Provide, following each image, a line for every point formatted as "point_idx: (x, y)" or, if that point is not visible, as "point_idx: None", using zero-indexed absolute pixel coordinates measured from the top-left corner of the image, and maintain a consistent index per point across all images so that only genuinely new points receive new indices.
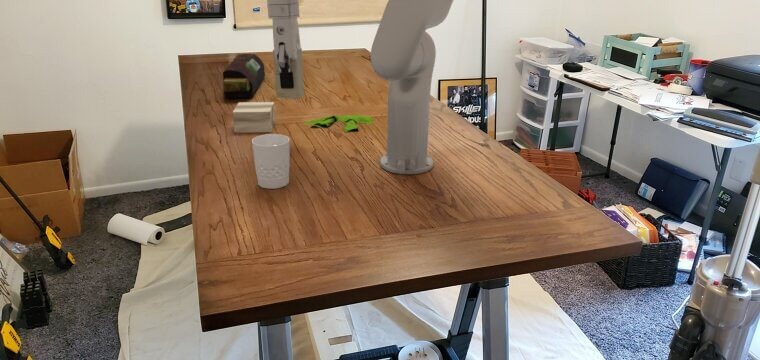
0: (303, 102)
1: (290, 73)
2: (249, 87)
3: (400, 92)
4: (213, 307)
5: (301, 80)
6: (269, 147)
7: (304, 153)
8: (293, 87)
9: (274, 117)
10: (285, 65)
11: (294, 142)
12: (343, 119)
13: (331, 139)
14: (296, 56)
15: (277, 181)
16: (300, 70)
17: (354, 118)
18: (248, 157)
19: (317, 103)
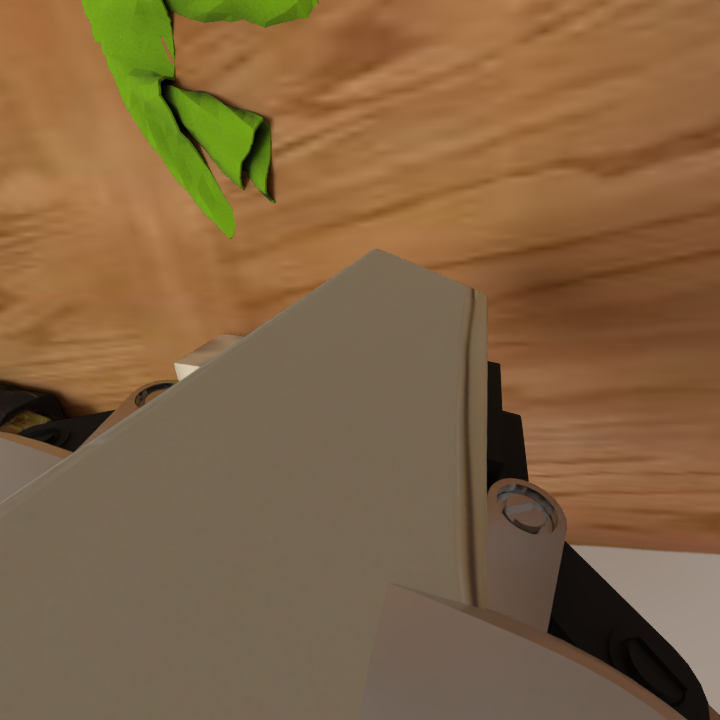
0: (20, 242)
1: (498, 472)
2: (25, 414)
3: None
4: None
5: (378, 298)
6: None
7: (607, 214)
8: (492, 362)
9: (220, 341)
10: (702, 709)
11: (448, 263)
12: (145, 41)
13: (425, 82)
14: (467, 677)
15: None
16: (353, 348)
17: None
18: (588, 420)
19: (8, 188)
